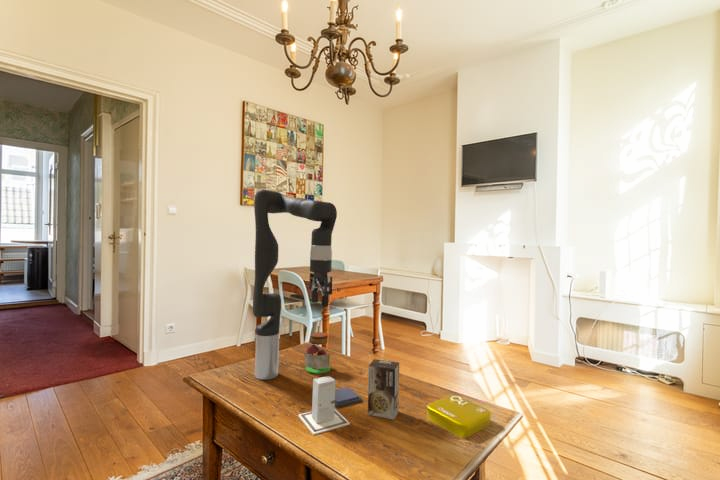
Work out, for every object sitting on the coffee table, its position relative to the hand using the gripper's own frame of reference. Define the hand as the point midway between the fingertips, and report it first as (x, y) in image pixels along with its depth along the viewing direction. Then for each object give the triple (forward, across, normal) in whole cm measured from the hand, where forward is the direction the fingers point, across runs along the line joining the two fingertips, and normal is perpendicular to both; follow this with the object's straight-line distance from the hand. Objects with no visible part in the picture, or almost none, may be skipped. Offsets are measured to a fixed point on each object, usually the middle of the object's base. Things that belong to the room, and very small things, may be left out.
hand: (319, 304), depth 120 cm
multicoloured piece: (+33, -25, +11) cm, 43 cm away
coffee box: (+33, +19, +15) cm, 41 cm away
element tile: (+34, +34, +33) cm, 58 cm away
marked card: (+33, +14, -4) cm, 36 cm away
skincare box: (+33, +14, -4) cm, 36 cm away
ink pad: (+33, +4, +8) cm, 34 cm away
